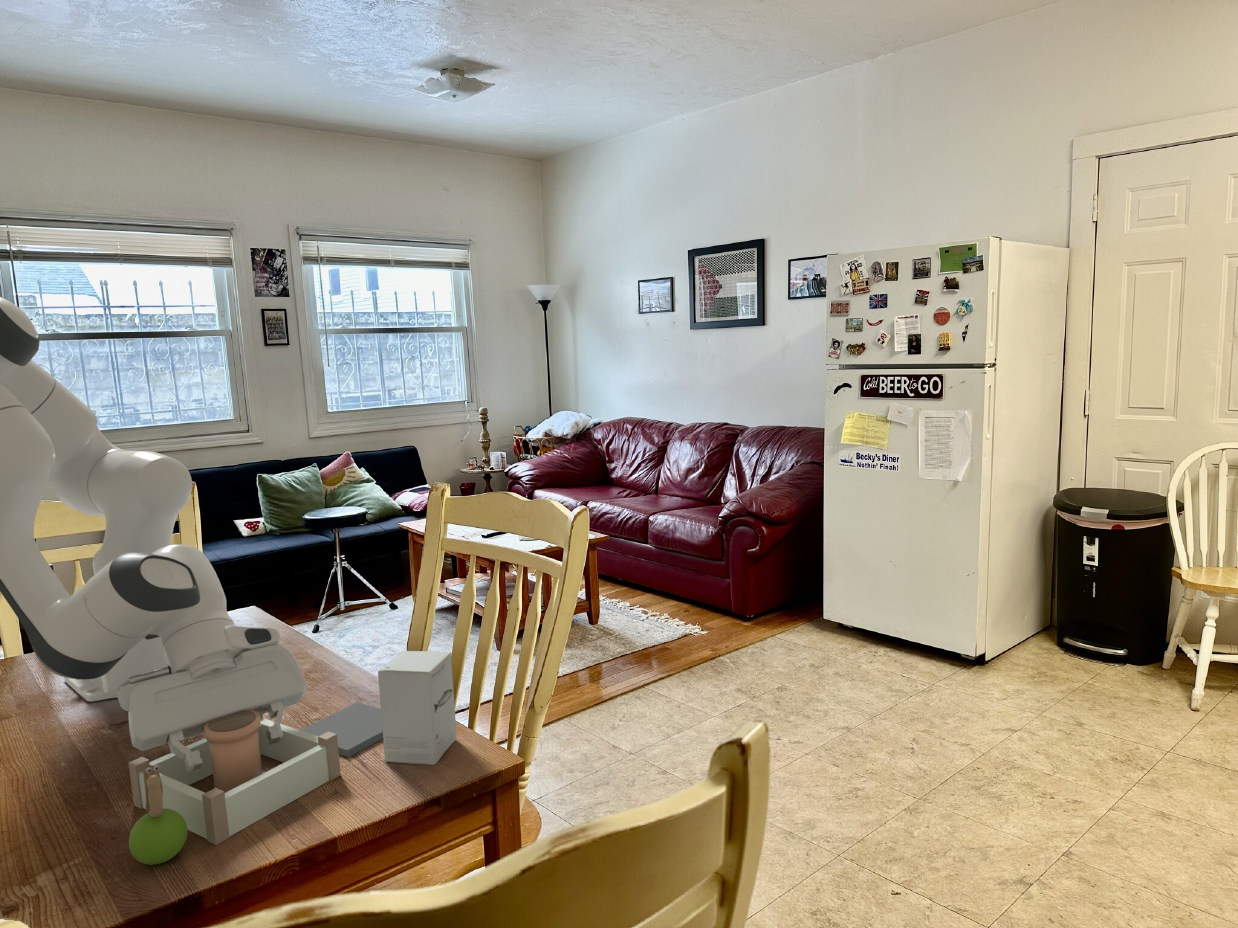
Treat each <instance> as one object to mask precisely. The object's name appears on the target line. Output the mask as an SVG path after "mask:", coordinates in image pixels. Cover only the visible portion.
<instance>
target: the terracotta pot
mask: <svg viewBox="0 0 1238 928" xmlns="http://www.w3.org/2000/svg"><path fill="white" fill-rule="evenodd" d="M260 727H261V721H260V714H259V713H258V712H256V711H253V710H242V711H238V712H235V713H232V714H229V715H225V716H222V717H219V718H216V719H212V720H211V721H209V722H207V723H206V724H205V725H204V732H203V733H204V738H206V740H207V741H209V742H210V751H211V759H212V768H213V774H212V775H213V783H214V788H217V789H220V790H222V791H224V793H226V792H228V791H230V790H232V789H234V788H236V787H238V786H240V785H242V784H244V783H245V782H247V781H249V780H251V779H253V778H255V777H257V776H259V775H261V774H263V773H264V772H263V764H262V757H261V755H262V754H260V745H259V736H258V730H259V729H260Z"/></svg>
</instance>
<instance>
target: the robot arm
mask: <svg viewBox="0 0 1238 928" xmlns="http://www.w3.org/2000/svg"><path fill="white" fill-rule="evenodd" d="M40 340H41V338H40V335H39V333H38V332H37V330H36V327H35V325H34V324H33V321H31V318H30V317H29V316H28V315H27V313H26V312H25V311H23V310H22V309H21V308H20V307H19V306H18V305H16V304H15V303H14V302H12V301H10V300H8V299H6V298H4V297H2V296H1V295H0V593H1V595H2V596H3V598H4V599H5V601H6V602H7V603H8V605H9V607H11V608H10V609H12V611H13V613H14V614H15V616H16V617H17V618H18V620H19V621H20V623H21V625H22V627H23V629H24V631H25V632H26V635H27V637H28V641H29V642H30V643H29V644H31V648H32V649H33V651H34V654H35V656H36V657H37V660H38V661H39V662H40V664H41V665H42V666H44V667H45V669H47V670H48V671H49V672H51V673H53V674H54V675H56V676H59V677H63V678H64V682H65V683H67V685H68V686H70V687H71V688H72V689H73V690H74V691H75V692H76V693H78V694H79V695H80V697H82V698H83V699H84V700H85V701H86V702H98V701H104V700H108V699H115V698H116V699H118V702H119V706H120V708H122V710H124V711H125V712H128V714H127V715H128V730H129V736H130V741H131V745H132V747H133V748H134V749H137V750H139V751H140V752H144V751H147V750H151V749H154V748H157V747H160V746H164V745H167V744H168V748H169V751H170V753H174V754H175V755H176V756H178V757H179V758H180V759H182V760H184V761H185V765H186V768H187V771H188V772H191V771H194V770H197V769H200V768H202V759H201V758H200V752H199V750H196V751H193V752H191V751H190V750H189V749H188V748H187V747H185V745H184V741H185V739H186V738H189V737H192V736H193V737H194V736H196V735H199V734H202V733H205V732H204V725H205V724H206V723H207V722H209V721H211V720H212V719H216V718H219V717H222V716H225V715H229V714H232V713H235V712H238V711H242V710H253V711H256V712H258V713H259V714H260V715H261V714H263V715H264V714H266V713H267V714H268V715H269V718H270V720H272V719H274V720H273V722H274V725H273V726H271V727H268V729H267V731H266V736H267V738H268V739H269V741H268V742H269V744H270V745H271V744H274V743H277V742H280V741H282V740H283V732H282V729H281V726H280V724H282V723H281V722H282V720H283V719H282V718H283V716H284V710H285V708H287V707H289V706H293V705H295V704H296V705H297V704H298V703H300V702H301V700H302V699H303V697H304V695H305V692H306V690H307V682H306V679H305V676H304V673H303V671H302V669H301V667H300V665H299V663H298V661H297V659H296V658H295V656H294V654H293V653H292V651H291V650H290V649H289V648H287V647H286V646H285V645H281V644H280V641H281V636H280V633H279V630H278V629H277V628H275V627H268V626H267V627H263V626H262V627H260V626H259V627H257V626H254V627H253V626H240V625H236V624H235V622H234V620H233V619H232V617H231V616H230V615H229V613H228V611H227V598H226V594H225V592H224V589H223V587H222V584H221V582H220V579H219V577H218V575H217V573H216V570H215V569H214V567H213V565H212V564H211V562H210V560H209V559H208V558H207V556H206V555H205V554H204V553H203V552H202V551H201V550H200V549H199V548H197V547H194V546H192V545H189V544H172V539H173V533H174V527H175V523H176V521H177V518H178V515H179V513H180V512H181V511H182V510H183V508H185V506H186V505H187V504H188V502H189V501H190V498H191V496H192V492H193V480H192V476H191V473H190V471H189V469H188V467H186V465H185V464H184V463H183V462H181V461H180V460H178V459H175V458H174V457H171V456H168V455H166V454H162V453H159V452H156V451H152V450H151V451H149V450H148V451H147V450H127V449H123V448H120V447H118V446H116V445H114V444H113V443H111V442H110V441H109V440H108V439H107V438H106V437H105V436H104V434H103V433H102V431H101V429H100V428H99V427H98V420H97V415H96V414H95V412H94V411H93V410H92V409H91V408H90V407H88V405H86V404H85V403H84V402H83V401H82V400H80V398H78V396H76V395H75V394H74V393H72V392H71V391H70V390H69V389H68V388H67V387H65V386H64V384H62V383H61V382H60V381H58V380H57V379H56V378H55V377H54V376H53V375H52V374H50V373H49V371H46V370H45V368H43V367H41V366H40V365H39V364H38V363H36V362H35V361H33V358H34V357H35V355H36V354H37V353H38V351H39V349H40ZM50 484H51V485H52V488H53V491H54V494H55V495H56V497H57V498H58V500H59V501H60V502H61V503H62V504H63V505H65V506H66V507H68V508H70V509H73V510H75V511H77V512H80V513H81V514H85V515H88V516H94V517H104V518H105V530H104V536H103V541H102V544H101V546H100V549H98V551H97V552H95V554H94V556H93V558H92V569H93V575H92V577H90V578H89V579H88V580H87V582H85V584H83V585H82V586H81V587H80V588H79V589H78V590H76V591H75V592H73V594H70V593H68V591H67V590H66V588H65V586H64V585H63V584H62V582H61V581H60V579H59V577H58V576H57V575H56V573H55V571H53V569H52V567H51V566H50V564H49V563H48V561H47V559H46V558H45V556H43V553H42V552H41V551H40V549H39V547H38V545H37V543H36V540H35V531H34V530H35V521H36V516H37V513H38V510H39V507H40V504H41V502H42V499H43V497H44V495H45V494H46V491H47V489H48V487H49V486H50Z"/></svg>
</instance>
